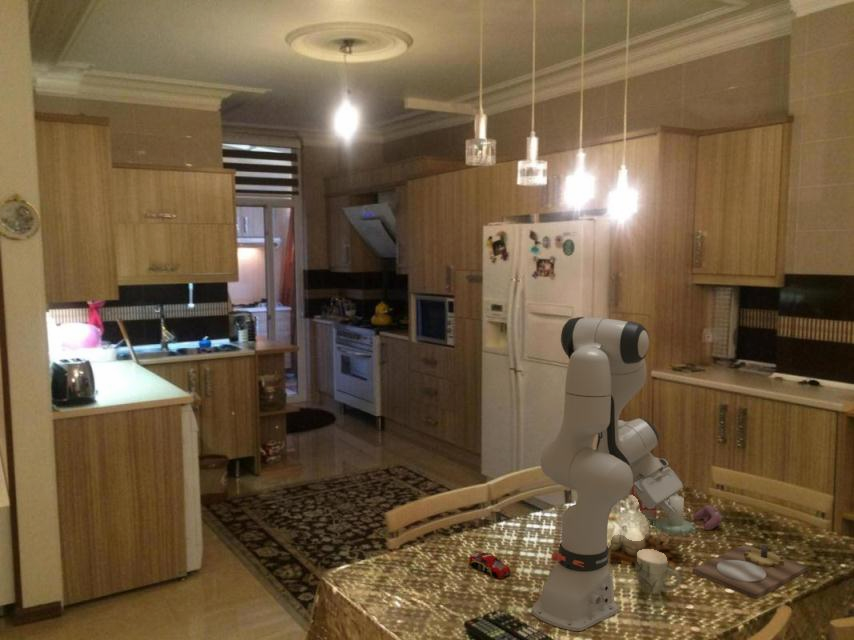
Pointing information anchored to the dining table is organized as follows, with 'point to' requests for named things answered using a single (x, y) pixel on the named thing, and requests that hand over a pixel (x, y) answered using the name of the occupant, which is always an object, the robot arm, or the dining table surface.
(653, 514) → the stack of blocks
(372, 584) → the dining table surface
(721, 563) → the gear board
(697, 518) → the purple curved piece
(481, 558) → the race car
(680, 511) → the loose gear
